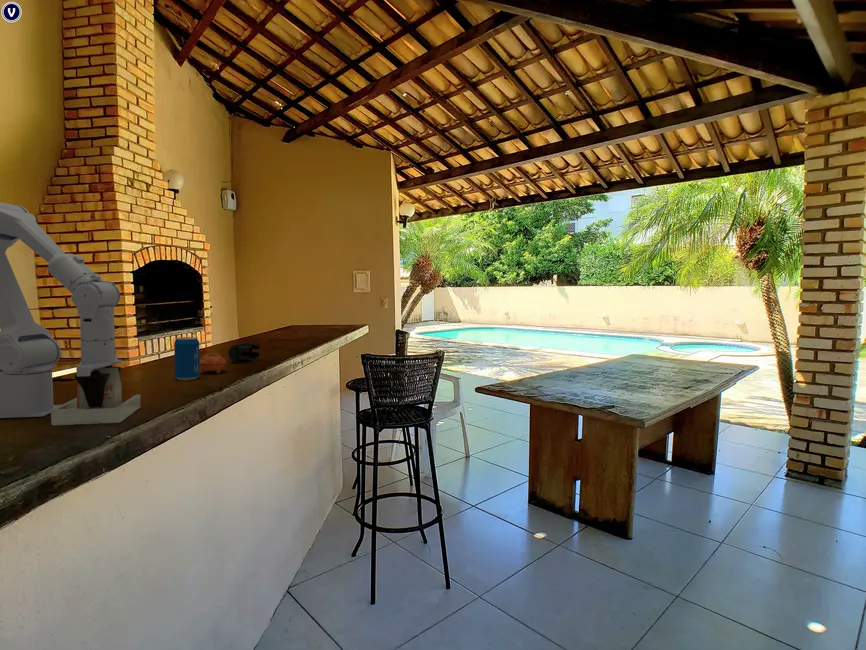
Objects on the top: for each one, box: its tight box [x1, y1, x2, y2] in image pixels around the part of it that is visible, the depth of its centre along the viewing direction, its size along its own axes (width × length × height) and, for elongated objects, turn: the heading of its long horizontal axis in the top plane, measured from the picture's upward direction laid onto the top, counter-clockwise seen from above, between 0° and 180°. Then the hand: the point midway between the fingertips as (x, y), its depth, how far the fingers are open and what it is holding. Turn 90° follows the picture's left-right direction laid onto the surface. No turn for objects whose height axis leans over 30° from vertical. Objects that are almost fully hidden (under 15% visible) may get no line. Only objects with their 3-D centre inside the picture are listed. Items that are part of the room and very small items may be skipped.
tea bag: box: [76, 368, 123, 408], centre depth 97 cm, size 4×7×10 cm, turn 105°
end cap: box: [227, 341, 261, 365], centre depth 167 cm, size 10×7×7 cm
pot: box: [200, 352, 227, 375], centre depth 145 cm, size 8×8×7 cm
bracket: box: [50, 393, 141, 426], centre depth 96 cm, size 12×12×3 cm
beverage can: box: [173, 336, 201, 381], centre depth 135 cm, size 6×6×12 cm
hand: (99, 404), depth 97 cm, fingers closed on tea bag, 4 cm apart
